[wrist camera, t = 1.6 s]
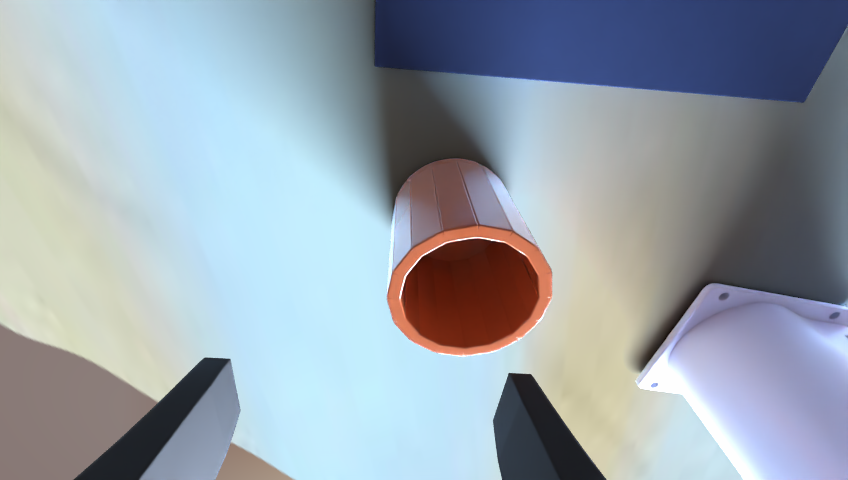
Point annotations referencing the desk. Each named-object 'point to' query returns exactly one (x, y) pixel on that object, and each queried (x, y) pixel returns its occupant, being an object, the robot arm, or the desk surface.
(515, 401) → the robot arm
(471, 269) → the cup
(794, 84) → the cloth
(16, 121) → the desk surface
